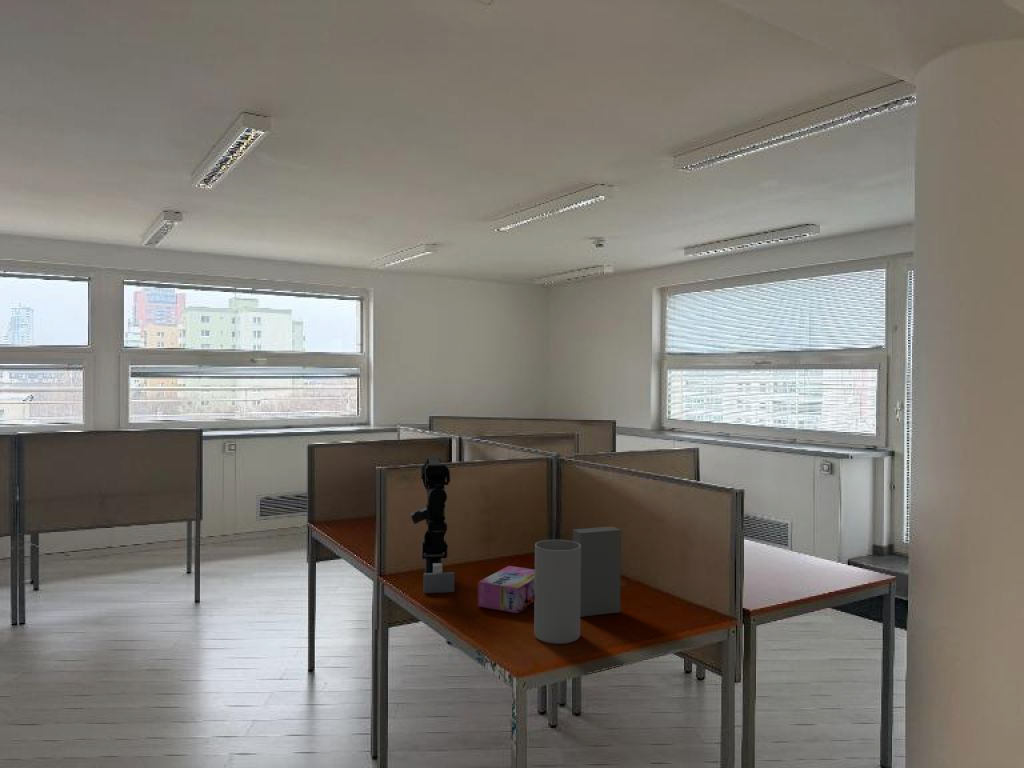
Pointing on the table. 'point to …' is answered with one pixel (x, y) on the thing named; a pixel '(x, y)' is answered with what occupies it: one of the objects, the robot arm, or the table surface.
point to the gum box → (507, 589)
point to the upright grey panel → (599, 570)
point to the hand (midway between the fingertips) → (435, 546)
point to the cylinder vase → (557, 591)
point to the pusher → (438, 580)
